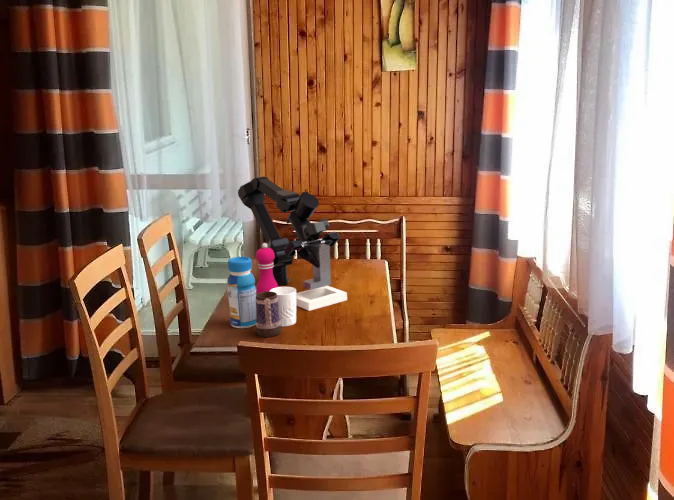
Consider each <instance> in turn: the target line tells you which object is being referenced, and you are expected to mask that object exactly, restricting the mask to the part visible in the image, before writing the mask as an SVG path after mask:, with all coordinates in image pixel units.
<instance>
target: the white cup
mask: <svg viewBox="0 0 674 500" xmlns="http://www.w3.org/2000/svg"><path fill="white" fill-rule="evenodd" d="M270 292H275V293H276V294H277V296H278V308H279V317H280V320H281V325H280V326H281V327H290V326H294V325H295V324H296V323H297V306H296V293H297V289H296V288H295V287H292V286H278V287H277V288H274V289H271V290H270Z"/></svg>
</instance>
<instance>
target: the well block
mask: <svg viewBox="0 0 674 500" xmlns="http://www.w3.org/2000/svg"><path fill="white" fill-rule="evenodd" d="M346 301H348V292H347V291H344V290H341V289H338V288H335V287H332V286H330V285H328V286H324V287H320V288H316V289H313V290H309V289H307V290H304V291H300V292H296V307H298V308H302V309H304V310H306V311H309V312H310V311H314V310H317V309H321V308H324V307H328V306H331V305H335V304H338V303H341V302H346Z"/></svg>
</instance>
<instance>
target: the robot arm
mask: <svg viewBox="0 0 674 500" xmlns="http://www.w3.org/2000/svg"><path fill="white" fill-rule="evenodd" d="M237 196H238V198H239V200H240V201H241V202H242V204H243V205H244V206H245V207H247V208H248V209H250V210H251V212H252V214H253V217H254V218H255V221H256V223H257V225H258V227H259V229H260V231H261V233H262V235H263V238H264V239H265V242H266V244H267V248H271V249H272V250H273V251H274V254H275V258H274V260H273V262H274V264H273V265H274V267H273V276H274V278H275V280H276V282H277V284H278V286H286V285H289V282H290V280H291V279H290V277H288V268H287V267H288V266H289V265H290V266H292V265H293V259H294V256H296V257H297V258H301V259H303V260H304V261H306V262H307V263H309V264H311V265H312V266H313V265H314V266H315V267H317V268H319V264H318V261H317V259H316V258H315V256H314V254H313V252H312V245H316V244H321V243H323V244H326V245H330V249H331V248H333V247H334V246H335V245H336V244H337V242H338V241H339V240H340V238H341V237H340V235H339V233H338V232H336V231H331V232H327V229H329V228H330V223H329V221H328V220H327V218H322V219H321V220H318V222H317V221H316V222H311V221H310V219H309V218H312V215H313V214H314V213H315V211H316V210H317V208H318V206H319V204H320V201H319V198H317V197H316V196H315V195H313V194H311V193H309V191H302V192H301V194H300V193H297V192H295V191H293V190H292V191H291V190H286V189H283V188H282V187H280V186H279V185H277V184H276V183H274V182H273V181H271V180H270V179H269V177H268V176H265V175H264V176H257V177H254V178H252V179H251V180H250V181H248V182H246V183H245V184H243V185H241V186H240V187H239V188H238V190H237ZM265 196H266V197H267V198H269V199H271V200H272V201H274V202H275V206H276V208H277V209H278V210H279V211H280V212H282V213H284V214H285V213H288V212H290V214H288V215H287V219H286V224H287V225H288V224H291V226H292V228H293V230H294V231H295V234H294V236H295V238H298V239H294V240H290V241H289V239H288V238H287V237H284V238H283V237H281V236H280V233H279V232H278V230H277V227H276V225H275V224H274V221H273V220H272V218H271V216H270V213H269V211H268V209H267V207H266V205H265V201H264V200H265ZM323 232H326V233H325V235H324V236H323V237H322V235H323V234H322V233H323ZM320 237H321V238H320ZM296 253H297V254H296Z"/></svg>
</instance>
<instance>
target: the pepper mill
mask: <svg viewBox="0 0 674 500" xmlns="http://www.w3.org/2000/svg"><path fill="white" fill-rule="evenodd" d="M274 258H275V254H274V251H273V250H272V249H271V248H267V242H263V243H262V244H261V248H259V249H257V251H256V253H255V259H256V261H257V262H258V263H257V265H258V266H257V267H258V269H259V274H260V275H259V279H258V282H257V285H256V294H258V293H260V292H267V291H270V290H271V289H274V288H277V287H279V285H278V284H277V282H276V280H275V278H274V276H273V267H274V265H273V264H274V262H273V260H274Z"/></svg>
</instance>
